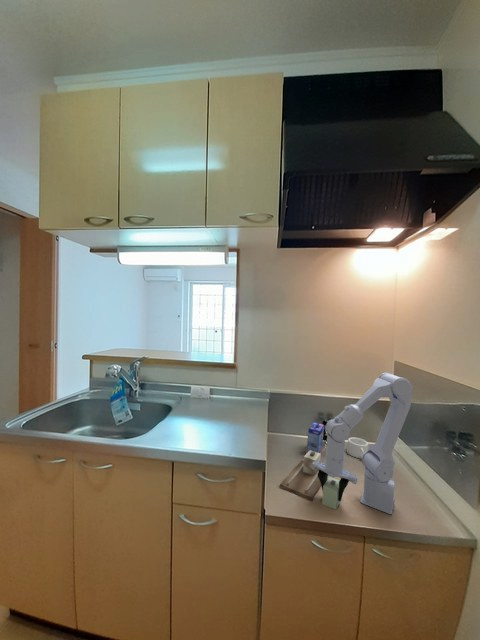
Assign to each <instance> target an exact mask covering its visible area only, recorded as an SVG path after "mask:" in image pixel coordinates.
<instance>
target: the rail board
mask: <svg viewBox="0 0 480 640" xmlns="http://www.w3.org/2000/svg"><path fill="white" fill-rule="evenodd" d="M321 455H322V454H321V452H320V453H317V452H314V451H311V450H310V451H309V452H308V453H307V454H305V455H304V456H303V459H302V460H300V461H299V462H298V463H297V465H296V466H295V467H294V468H292V470H291V472H290V473H288V475H287V476H286V477H285V478H284V479H283V480H282V481H281V483H279V488H281V489H283V490H286V491H289V492H290V493H294V494H295V495H298V496H301V497H303V498H305V499H308V500H310V501H314V499H315V497H316V495H317V494H318V492H319V490H320V489H321V488H322V486H321V483H320V480H319V478H318V472H319V470H317V469H315V470H314V469H312V463H313V462H314V461H315V462H318V463H321Z"/></svg>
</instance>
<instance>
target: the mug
mask: <svg viewBox="0 0 480 640" xmlns="http://www.w3.org/2000/svg"><path fill="white" fill-rule="evenodd" d="M368 448H369V443H368V441H367V440H365V439H363V438H360V437H354V436H353V437H348V439H347V443H346V453H347V454H348V455H349V456H350V457H351V456H352V457H353V458H357V459H362V456H363V454H364V453H365V452H366V451H367V450H368Z"/></svg>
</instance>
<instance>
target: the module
mask: <svg viewBox="0 0 480 640" xmlns="http://www.w3.org/2000/svg"><path fill="white" fill-rule="evenodd" d="M339 481H340V479H336V478H335V477H330V476H328V478H327V481H326V483H325V484H324V486H323V491H322V501H321V503H322V504H321V505H324V506H326V507H328V508H331V509H333V510H337V509H338V506H339V504H340V502H341V501H338V496H339Z"/></svg>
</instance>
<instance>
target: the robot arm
mask: <svg viewBox="0 0 480 640" xmlns="http://www.w3.org/2000/svg"><path fill="white" fill-rule="evenodd" d="M413 391H414V388H413V385H412V383H411V382H410V380H408V379H407V378H406V377H400V376H397V375H395V374H392V373H390V372H383V373H381V374H380V375H379V376H378V377H377V378H375V379H374V381H373V384H372V385H371V386H370V387H369V388H368V390H367V391H366V392H365V393H364V394H363V395H362V396H361V397H360V399H358V400H357V402H356V403H355V404H354V403H351V404H348V405H345V406H344V407H343V408H344V409H343V410H342V411H341V412H340V413H339V414H337V415H335V417H334V418H332V419H330V420H327V422H326V424H325V425H324V431H325V432H326V434H327V435H326V437H327V438H326V446H325V447H326V449H325V451H326V452H325V463H324V462H320V463H318V462H315V461H314V462H313V463H312V469H314V470H315V469H317V470H319V472H318V478H319V480H320V483H321V490H322V492H323V486H324V484H325V483H326V481H327V479H328V478H329V477H332V478H335V477H336V478H339V480H340V481H339V496H338V501H340V502H341V501H342V500H343V494H344V492H345V489H346V488H347V486H348V484H349V482H351V483H352V484H354V485H357V483H358V475H356V474H353V473H352V472H349V471H347V470H345V469H344V461H345V460H344V459H345V447H346V446H345V444H346V441H347V440H348V439H349V438H350V437H349V436H350V432H351V431H352V429H353V428H354V427H355V426H357V425H358V423H359V422H360V421H362V420H363V418H364V412H366V411H367V410H368V409H370V408H371V407H372V405H374V404H375V403H377V401H379V400H380V399H381V398H388V399H389V401H390V405H389V408H388V410H387V413H386V415H385V418H384V420H383V422H382V425H381V428H380V430H379V433H378V436H377V437H376V440H375V442H374V444H371V445H368V450H367V451H366V452H365V453H364V454H363V456H362V458H361V463H362V465H363V466H364V477H363V478H364V479H363V481H364V482H363V492H362V495H361V498H360V501H359V502H360V503H361V504H363V505H366V506H369V507H371V508H373V509H376V510H379V511H381V512H383V513H386V514H389V515H393V509H394V506H395V501H396V500H395V486H396V485H395V484H396V483H395V480H392V479H393V476H394V466H395V464H396V463H395V459H394V456H393V450H394V449H395V446H396V443H397V441H398V438H399V436H400V433H401V431H402V428H403V426H404V424H405V422H406V419H407V416H408V414H409V412H410V409H411V406H412V394H413Z"/></svg>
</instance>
